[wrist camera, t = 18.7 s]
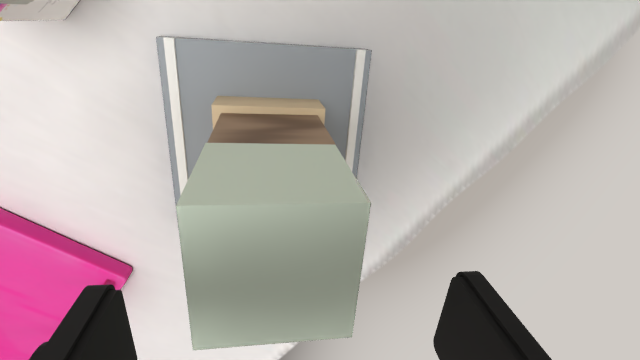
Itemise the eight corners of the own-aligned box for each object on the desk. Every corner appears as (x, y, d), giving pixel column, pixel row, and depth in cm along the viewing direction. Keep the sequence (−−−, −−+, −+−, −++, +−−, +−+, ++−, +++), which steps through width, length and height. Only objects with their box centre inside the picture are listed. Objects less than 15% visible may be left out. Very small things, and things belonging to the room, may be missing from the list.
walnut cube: (317, 115, 22) (336, 144, 17) (312, 198, 24) (327, 248, 19) (220, 113, 21) (206, 143, 16) (225, 200, 23) (215, 253, 18)
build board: (366, 49, 25) (385, 53, 21) (347, 217, 30) (359, 244, 27) (161, 36, 22) (140, 38, 19) (181, 221, 28) (169, 251, 24)
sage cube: (335, 144, 17) (371, 202, 11) (326, 248, 19) (351, 337, 14) (205, 142, 16) (175, 206, 10) (213, 252, 18) (193, 350, 13)
